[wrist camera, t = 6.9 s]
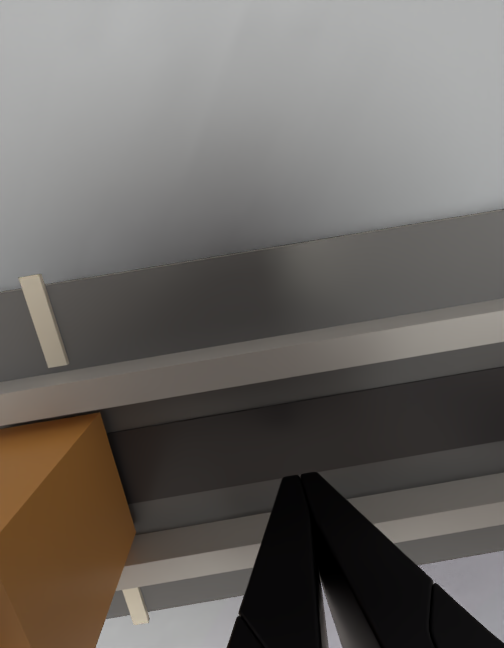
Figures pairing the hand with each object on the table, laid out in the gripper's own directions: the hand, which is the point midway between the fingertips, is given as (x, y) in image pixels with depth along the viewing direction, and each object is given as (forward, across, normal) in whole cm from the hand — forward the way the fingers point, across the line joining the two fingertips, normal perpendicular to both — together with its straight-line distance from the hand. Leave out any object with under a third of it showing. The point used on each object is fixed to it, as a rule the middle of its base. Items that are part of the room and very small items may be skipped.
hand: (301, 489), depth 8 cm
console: (+4, +2, 0) cm, 4 cm away
